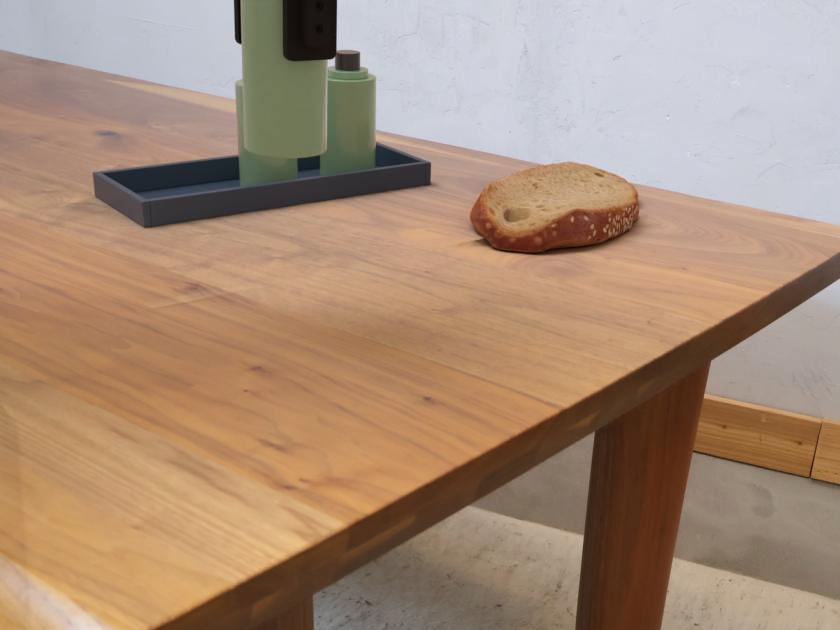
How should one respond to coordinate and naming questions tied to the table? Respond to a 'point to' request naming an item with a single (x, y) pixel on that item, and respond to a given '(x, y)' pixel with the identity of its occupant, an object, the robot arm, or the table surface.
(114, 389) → the table surface
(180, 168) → the tray
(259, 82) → the bottle loose
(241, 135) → the bottle mid
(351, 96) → the bottle far
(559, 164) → the slice of bread
